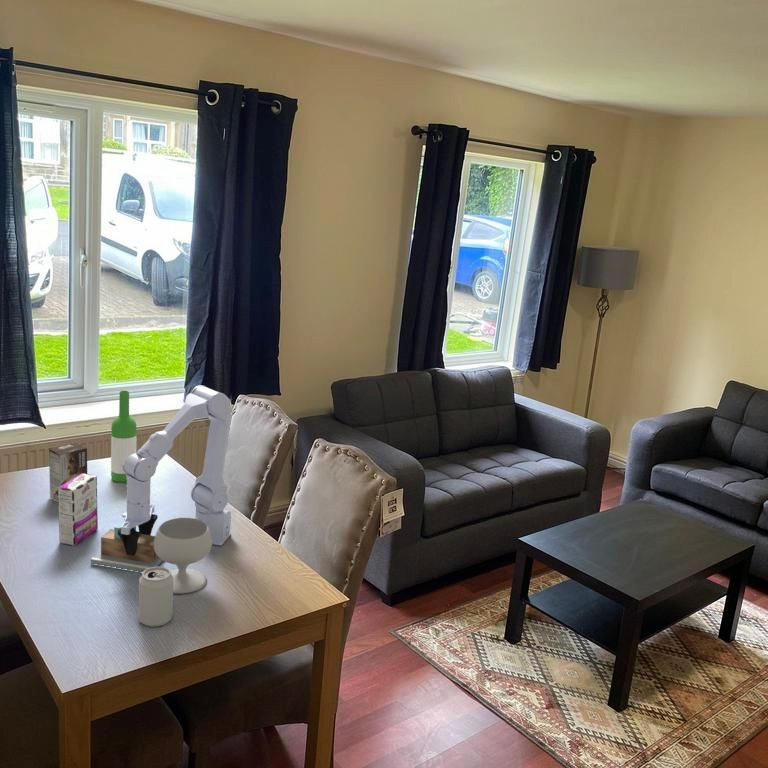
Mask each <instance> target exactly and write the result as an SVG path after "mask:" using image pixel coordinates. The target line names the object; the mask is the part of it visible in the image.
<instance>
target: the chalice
mask: <svg viewBox="0 0 768 768" xmlns="http://www.w3.org/2000/svg"><path fill="white" fill-rule="evenodd" d="M154 536H155V539H154V551H155V553H156V555H157V556H158V557H159V558H160V559H161V560H163V561H162V562H165V563H168V564H171V565H174V566H176V567H177V568H175V569H169V570H170V571H171V574H172V576H173V577H174V580H173V594H175V595H177V594H179V595H180V594H189V593H194V592H197V591H199V590H201V589H202V588H204V587H205V585H206V584H207V582H208V581H207V577H206V575H205V574H204V573H203V572H201V571H199V570H196V569H192V568H188V566H190V565H192V564H195V563H198V562H200V561H201V560H203V559H205V558H206V557H207V556H208V554H209V553H210V552H211V549H212V547H213V544H212V537H211V533H210V530H209V528H208V526H207V525H206V524H205V523H204V522H203V521H201V520H198V519H196V518H191V517H177V518H172V519H168V520H166V521H164V522H162V523H161V525H160V526H159V527H158V528H157V531H156V533H155V535H154Z"/></svg>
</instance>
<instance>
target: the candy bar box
mask: <svg viewBox="0 0 768 768" xmlns="http://www.w3.org/2000/svg"><path fill="white" fill-rule="evenodd" d="M57 504H58V528H59V529H58V533H59V534H58V535H59V544H63V545H68V546H73V547H75V546H77V545H79V543H81V542H82V541H84V538H85V539H86V538H88V537H89V536H90V535H92V534H93V533H94V532H96V531H97V530H98V527H99V526H98V525H99V524H98V519H99V518H98V476H97V475H94V474H88V473H87V474H85V473H82V474H80V475H78V476H77V477H75V478H73V479H72V480H70V481H68V482H67V483H65V484H63V485H62V486H60V487H58V502H57Z"/></svg>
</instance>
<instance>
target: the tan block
mask: <svg viewBox="0 0 768 768" xmlns="http://www.w3.org/2000/svg"><path fill="white" fill-rule="evenodd" d="M154 539H155V535H152V534H151V535H145V534H140V536H139V539H138V543H137V549H136V554H135V555H134V556H131V555H127V554H126V551H125V547H124V544H123V541H122V539H118V538H114V528H110V529H109V530H108V531H106V533H104V534H103V535H102V536H100V551H101V555H106V556H112V557H118V558H124V559H130V560H136V561H142V562H148V563H153V562H154V560H156V559H157V555H156V553H155V551H154Z"/></svg>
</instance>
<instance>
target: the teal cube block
mask: <svg viewBox="0 0 768 768" xmlns="http://www.w3.org/2000/svg"><path fill="white" fill-rule="evenodd" d="M123 524H124V520H121V521H120V522H119V523H117V524H116V525H115V526H114V527H113V529H114V538H118V539H121V538H120V536H119V535H118V530H119V529H120V528H121V526H122V525H123ZM134 530H135V531H137V526H136V527H134Z"/></svg>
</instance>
